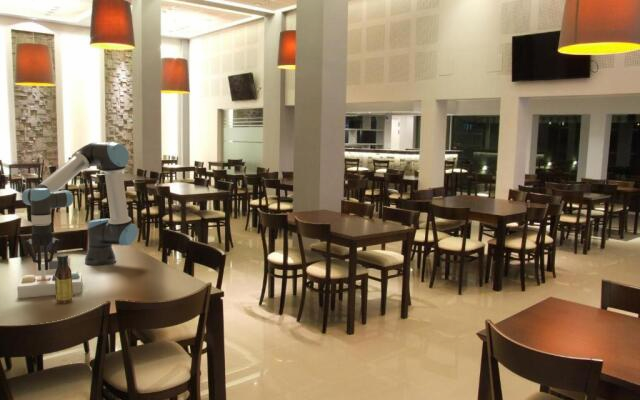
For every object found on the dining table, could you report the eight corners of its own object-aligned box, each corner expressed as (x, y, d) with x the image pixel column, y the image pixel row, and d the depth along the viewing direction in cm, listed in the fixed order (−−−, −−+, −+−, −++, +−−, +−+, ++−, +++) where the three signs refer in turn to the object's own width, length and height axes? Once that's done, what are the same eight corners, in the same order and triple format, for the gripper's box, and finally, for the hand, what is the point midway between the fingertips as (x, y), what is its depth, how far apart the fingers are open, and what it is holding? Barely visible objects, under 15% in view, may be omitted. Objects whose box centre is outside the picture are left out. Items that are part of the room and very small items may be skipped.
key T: (34, 283, 228) (34, 274, 227) (33, 286, 224) (33, 276, 224) (24, 284, 226) (23, 274, 226) (22, 287, 223) (22, 277, 222)
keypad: (82, 282, 241) (81, 272, 240) (81, 292, 226) (80, 281, 226) (22, 287, 232) (22, 276, 231) (17, 298, 217) (17, 286, 216)
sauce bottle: (59, 299, 217) (58, 252, 214) (75, 299, 218) (73, 252, 215) (53, 304, 211) (51, 256, 208) (69, 304, 211) (67, 256, 209)
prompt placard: (70, 280, 244) (70, 257, 243) (70, 281, 243) (69, 258, 242) (36, 283, 238) (36, 259, 237) (36, 283, 238) (35, 260, 236)
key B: (49, 285, 230) (49, 276, 230) (49, 288, 227) (48, 278, 226) (39, 286, 229) (38, 277, 228) (38, 289, 225) (37, 279, 224)
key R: (78, 280, 235) (78, 271, 234) (78, 282, 231) (78, 273, 230) (68, 281, 233) (68, 271, 233) (67, 283, 229) (67, 274, 229)
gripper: (59, 222, 230) (60, 274, 233) (25, 223, 225) (27, 276, 228) (57, 225, 223) (59, 278, 226) (23, 226, 218) (25, 281, 221)
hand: (43, 277), depth 227 cm, fingers closed
